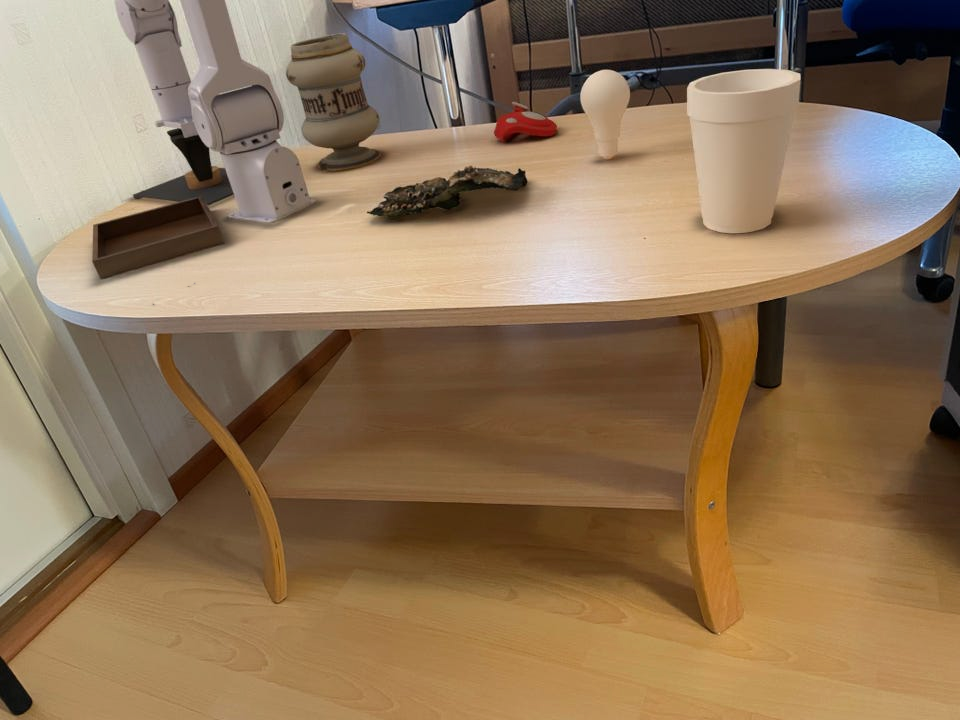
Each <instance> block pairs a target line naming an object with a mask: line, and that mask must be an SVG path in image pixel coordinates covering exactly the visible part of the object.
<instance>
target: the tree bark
mask: <svg viewBox="0 0 960 720" xmlns="http://www.w3.org/2000/svg"><path fill="white" fill-rule="evenodd" d="M528 183H529V182H528V178H527V175H526V170H523V169H522V168H520V167H519V168H518V169H517V172H516V173H515V174H514V173H512V172H511V171H508V170H505V171H504V170H498V169H493V168H489V167H487V168H484V167H476V166H474V167H473V165H469V166H465V167H464V168H463V170H459V169H457V171H455V172H453V174H452V175H451V176H450V177H448V179H446V178H445V177H440V176H439V177H435V178H432V179H428V180H427V179H426V180H424V181H422V182H416V183H415V184H410V185H409V184H408V185H405V186H398V187H395V188H394V189H393V190H391V191H387V192H386V193H385V194H384V196H383V199H385V200H383V201H381V202H379V204H378V205H377V206H376V207H374V208H372V210H370V211H369V210H368V211H366V214H369V215H372V216H377V217H380V218H381V217H382V218H389V219H391V218H392V219H393V218H399V217H403V216H410V215H411V214H412V213H413V214H422V211H425V212H426V211H429V210H435V209H437V208H438V209H441V210H444V211H452V210H453V209H456V208H459V206H460V205H461V202H460V199H461V194H460V193H463V192H475V191H479V190H485V189H486V190H487V189H499V190H505V191H513V192H515V191H518V190H520V188H521V187H522V188H524V187H525V188H526V186H527V185H528Z"/></svg>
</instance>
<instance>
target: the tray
mask: <svg viewBox="0 0 960 720" xmlns="http://www.w3.org/2000/svg"><path fill="white" fill-rule="evenodd" d="M220 245H225V241H224V238H223V235H222V233H221V230H220V227H219V225H218V223H217V222H216V219H215V217H214V215H213V213H212V211H211V210H210V208H209V205H207V204H206V202H205V200H204V198H203V197H202V196H199V197H195V198H192V199H188V200H184V201H180V202H177V201H176V202H174V203H170V204H165V205H163V206H162V205H161V206H158V207H155V208H151V209H147V210H143V211H140V212H136V213H135V212H134V213H132V214H127V215H125V216H121V217H117V218H114V219H110V220H106V221H102V222H99V223H95V224H93V225H92V252H91V253H92V255H91V257H92V258H91V259H92V260H91V262H92V264H93V266H94V269H95V271H96V274H97V275H98V277H99V279H100V280H103V279H107V278H111V277H114V276H117V275H121V274H124V273H127V272H132V271H134V270H139V269H142V268H145V267H148V266H152V265H155V264H158V263H162V262H165V261H169V260H172V259H176V258H179V257H182V256H183V257H184V256H186V255H190V254H193V253H197V252H200V251H204V250H206V249H210V248H214V247H218V246H220Z"/></svg>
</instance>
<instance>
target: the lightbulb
mask: <svg viewBox="0 0 960 720" xmlns="http://www.w3.org/2000/svg"><path fill="white" fill-rule="evenodd" d="M579 96H580V97H579V100H580V105H581V108H582V110H583V112H584V113H585V115H586V117H587V118H588V119H589V121H590V124H591V126H592V129H593V133H594V139H595V141H596V146H597V154H598V156H599V157H601V158H603V159H604V160H611V159H613V157H615V156H617V154H618V152H619V138H620V133H621V132H620V131H621V123H622V120H623V117H624V114H625V112H626V110H627V107H628V106H629V103H630V99H631V90H630V86H629V83H628V81H627V79H626V78H625V77H624V76H623V75H622V74H621V73H620V72H617V71H615V70H612V69H601V70H598V71H596V72H594V73H592V74H591V75H590V76H589V77H588V78H586V80H585V81H584V83H583V85H582V87H581V90H580V95H579Z"/></svg>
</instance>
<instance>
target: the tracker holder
mask: <svg viewBox="0 0 960 720" xmlns="http://www.w3.org/2000/svg"><path fill="white" fill-rule="evenodd" d="M511 104H512V107H513V111H512V112H507V113H505V114H502V115H501V116H499V117H498V119H497V122H496V125H495V128H494V130H493V136H494V137H495V138H497V139H498V140H500V141H501V142H506V141H508V140H509V139H511V138H512V137H513V136H515V135H516V134H519V133H520V134H526V135H531V136H537V137H551V136H554V135H555V134H556V133H557V132H558V131H557V130H558V124H557V123H556V122H555V121H553V120H551V119H550V118H549V117H548V116H546V115H544V114H542V113H540V112H536V111H533V110H532V111H531V110H530V107H529V106H528V105H524V104H522V103H518V102H516V101H512V102H511Z"/></svg>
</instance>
